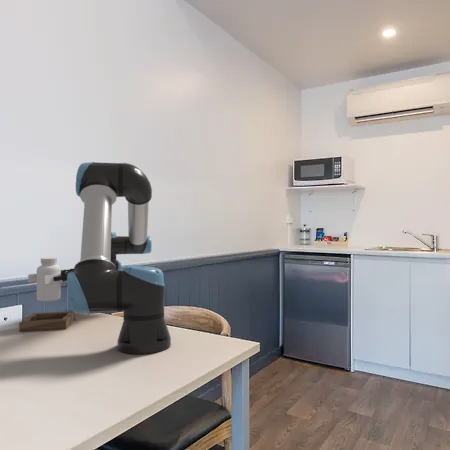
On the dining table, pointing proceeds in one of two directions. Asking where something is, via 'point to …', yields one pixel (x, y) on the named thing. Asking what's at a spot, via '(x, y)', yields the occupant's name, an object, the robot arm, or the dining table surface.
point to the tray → (47, 321)
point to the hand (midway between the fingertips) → (36, 279)
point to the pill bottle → (51, 289)
